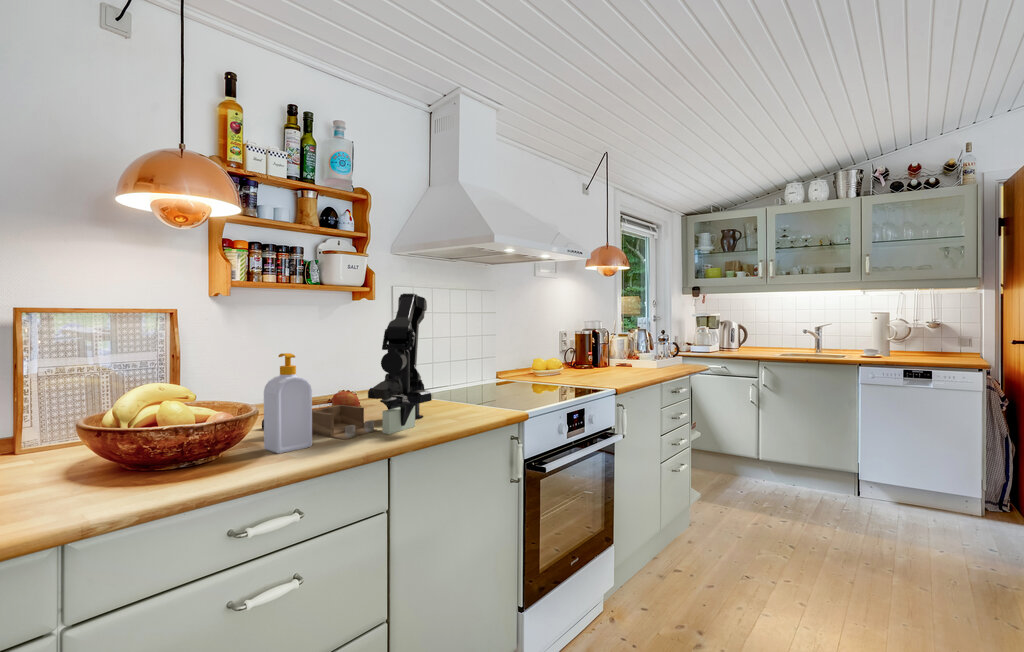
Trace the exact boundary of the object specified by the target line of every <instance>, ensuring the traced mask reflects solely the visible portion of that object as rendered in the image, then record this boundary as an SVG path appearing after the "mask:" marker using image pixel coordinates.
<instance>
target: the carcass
mask: <svg viewBox="0 0 1024 652" xmlns="http://www.w3.org/2000/svg"><path fill="white" fill-rule="evenodd" d="M316 409H317V408H316ZM377 431H378V428H377V429H376V428H375V421H374V420H371V419H370V420H367V421H365V408H364V407H362V406H359V407H355V406H347V405H337V406H332V405H331V406H328V407H323V408H318V409H317V410H315V409H312V435H313V436H314V435H316V436H321V437H327V438H333V439H339V440H345V441H346V440H349V439H351V438H355V437H358V436H362V435H363V436H364V435H366V434H370V433H374V432H377Z"/></svg>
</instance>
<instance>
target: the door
mask: <svg viewBox="0 0 1024 652" xmlns="http://www.w3.org/2000/svg"><path fill="white" fill-rule="evenodd" d="M381 426H382V434H387V435H390V434H394V433H398V432H400V431H404V430H409V429H412V428H414V427H416V419H415V406H414V407H413V409H412V411H411V413H410V415H409V417H408V419H407V422H406V424H405V425H404V426H401V408H400V407H398V408H394V409H389V410H388V409H385V410H382V425H381Z"/></svg>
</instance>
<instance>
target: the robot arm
mask: <svg viewBox="0 0 1024 652" xmlns="http://www.w3.org/2000/svg"><path fill="white" fill-rule="evenodd" d="M397 304H398V305H397V312H396V315H395V318H394V319H393V320H391V321H389V322H388V325H387V327H386V329H384V334H383V339H382V346H381V350H382V351H387V353H385V354H384V355H383V356H382V357H381V361H380V365H381V369H382V371H384V372H385V375H384V380H383V381H380V382H378V383H377V384H376V385H374V386H372V387H370V388H369V390H368V391H367V398H368V399H372V400H379V399H380V400H379V402H380V403H382V404H383V405H385V406H386V408H387V410H389V409H394V408H398V407H400V408H401V426H404V425H405V424H406V422H407V419H408V417H409V415H410V413H411V411H412V409H413V407H414V406H415V420H417V419H420V418H424V415H423V414H420V404H423V403H428V402H432V401H433V400H432V398H433V397H432V393H431V391H430V390H425V384H424V382H423V379H422V376H421V374H420V373H419V371H418V368H417V361H418V349H419V348H418V343H419V331H420V330H419V327H420V324H421V322H422V321H423V320H424V318H425V312H427V309H428V306H427V305H428V303H427V300H426V298H425V297H423V296H420V295H418V294H417V293H402V294H401V293H400V296H399V297H398V302H397Z"/></svg>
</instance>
